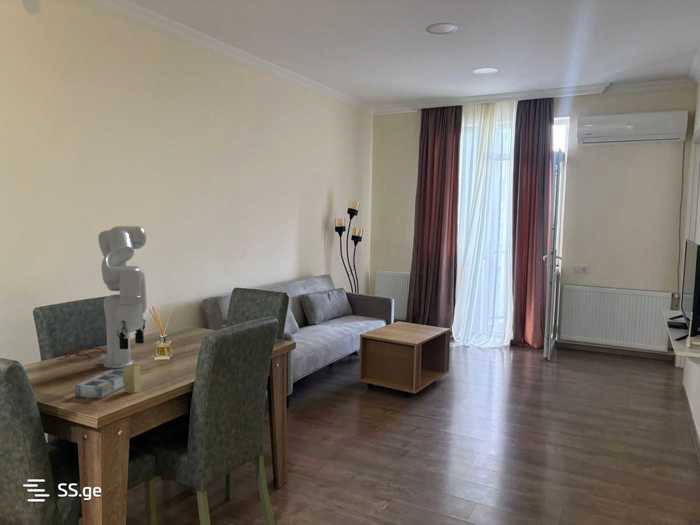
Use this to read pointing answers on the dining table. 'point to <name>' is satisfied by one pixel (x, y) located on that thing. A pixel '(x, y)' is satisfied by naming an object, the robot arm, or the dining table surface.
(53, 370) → the dining table surface
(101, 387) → the grey compartment tray
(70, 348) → the glasses
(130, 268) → the robot arm
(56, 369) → the dining table surface
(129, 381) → the peg
